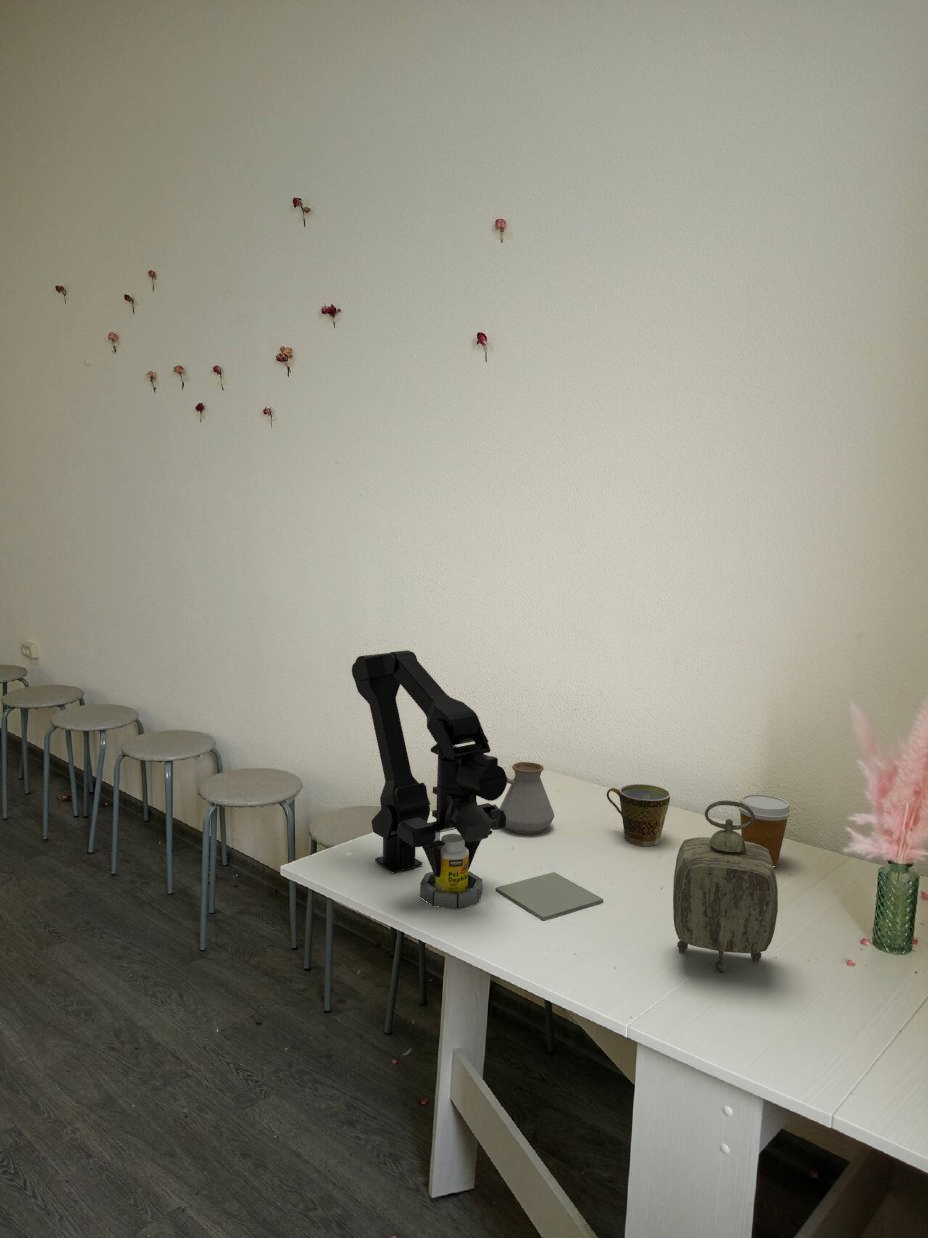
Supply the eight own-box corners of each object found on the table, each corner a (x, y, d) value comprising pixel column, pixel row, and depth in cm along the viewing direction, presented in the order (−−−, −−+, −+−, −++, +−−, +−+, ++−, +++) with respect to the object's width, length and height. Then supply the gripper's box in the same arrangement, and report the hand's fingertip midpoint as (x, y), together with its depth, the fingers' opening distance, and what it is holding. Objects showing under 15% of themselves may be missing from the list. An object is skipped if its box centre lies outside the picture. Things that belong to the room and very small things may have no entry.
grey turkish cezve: (537, 815, 200) (540, 746, 198) (563, 833, 189) (567, 761, 187) (444, 826, 192) (446, 755, 189) (466, 847, 181) (468, 771, 179)
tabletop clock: (767, 957, 141) (780, 797, 138) (773, 987, 133) (786, 817, 129) (669, 944, 145) (679, 787, 141) (668, 973, 136) (679, 807, 132)
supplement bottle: (446, 905, 156) (447, 846, 154) (428, 892, 160) (430, 835, 159) (473, 898, 159) (475, 840, 157) (456, 885, 163) (457, 829, 162)
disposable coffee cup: (731, 867, 175) (735, 805, 173) (736, 849, 184) (741, 790, 182) (784, 876, 171) (790, 813, 170) (788, 858, 180) (793, 797, 178)
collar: (410, 890, 161) (411, 877, 161) (459, 878, 166) (459, 865, 166) (442, 913, 153) (442, 899, 152) (492, 899, 158) (492, 885, 158)
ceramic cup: (674, 838, 189) (677, 790, 187) (656, 854, 180) (659, 803, 179) (614, 824, 195) (617, 778, 194) (594, 838, 187) (596, 790, 186)
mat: (495, 891, 162) (495, 887, 162) (553, 875, 169) (554, 872, 169) (543, 920, 151) (543, 917, 151) (603, 902, 158) (603, 899, 158)
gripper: (432, 807, 145) (430, 903, 147) (528, 788, 155) (524, 878, 158) (396, 787, 154) (394, 878, 156) (488, 770, 165) (486, 855, 167)
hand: (451, 872), depth 159 cm, fingers closed on supplement bottle, 6 cm apart
